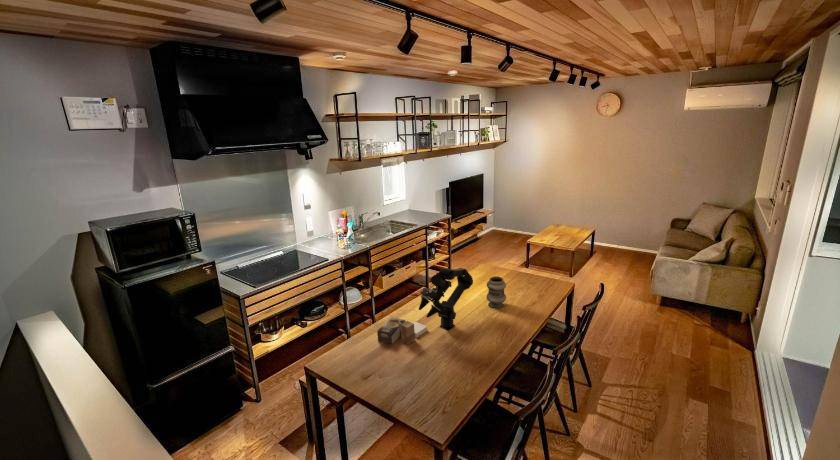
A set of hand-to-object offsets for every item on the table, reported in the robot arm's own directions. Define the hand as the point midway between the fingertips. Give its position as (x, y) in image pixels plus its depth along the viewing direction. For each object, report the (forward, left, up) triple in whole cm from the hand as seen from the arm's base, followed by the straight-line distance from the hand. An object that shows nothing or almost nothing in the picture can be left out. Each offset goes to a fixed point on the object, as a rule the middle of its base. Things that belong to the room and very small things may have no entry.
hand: (422, 313), depth 207 cm
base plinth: (+6, -1, -14) cm, 15 cm away
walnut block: (+3, +9, -14) cm, 17 cm away
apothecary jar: (-14, -53, -14) cm, 57 cm away
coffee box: (+17, +2, -10) cm, 20 cm away
